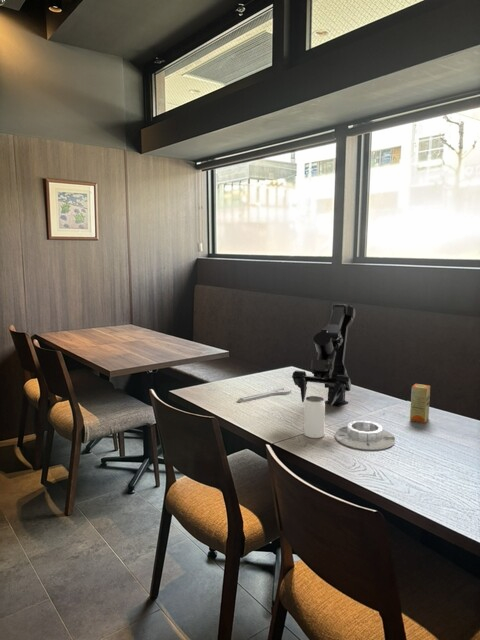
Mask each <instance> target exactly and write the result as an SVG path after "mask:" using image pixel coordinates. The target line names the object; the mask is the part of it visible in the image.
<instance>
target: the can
mask: <svg viewBox="0 0 480 640" xmlns="http://www.w3.org/2000/svg"><path fill="white" fill-rule="evenodd" d="M324 400H325V399H324V397H321V396H318V395H317V396H316V395H310V396H306V397H305V400H304V411H303V412H304V413H303V416H304V417H303V419H304V420H303V434H304V436H306V437H307V438H311V439H320V438H323V437H324V436H325V429H326V428H325V425H326V424H325V423H326V403H325V401H324Z"/></svg>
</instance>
